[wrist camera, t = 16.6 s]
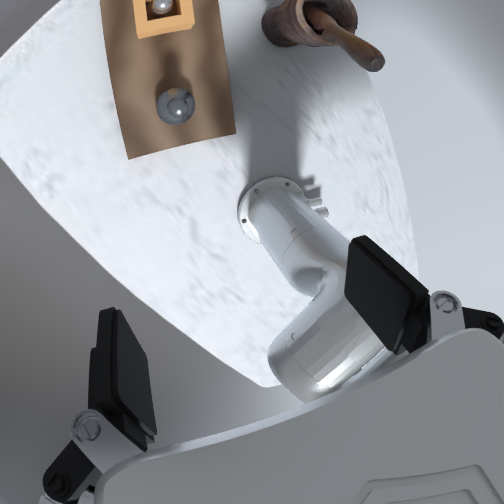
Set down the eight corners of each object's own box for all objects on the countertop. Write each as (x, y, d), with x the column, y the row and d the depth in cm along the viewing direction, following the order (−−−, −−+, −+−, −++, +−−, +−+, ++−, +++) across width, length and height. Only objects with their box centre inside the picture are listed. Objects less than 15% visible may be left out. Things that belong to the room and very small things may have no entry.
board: (211, -23, 28) (214, -27, 26) (232, 131, 43) (236, 133, 41) (101, -2, 25) (99, -6, 23) (129, 156, 40) (128, 159, 38)
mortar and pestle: (327, 50, 39) (417, 48, 23) (290, 76, 40) (373, 81, 24) (288, -4, 32) (368, -38, 16) (246, 21, 34) (312, -14, 18)
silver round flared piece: (178, -4, 27) (183, -21, 22) (182, 27, 30) (188, 15, 24) (140, 3, 26) (138, -13, 21) (143, 34, 29) (142, 24, 23)
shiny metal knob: (190, 84, 35) (197, 83, 30) (196, 118, 38) (204, 124, 33) (153, 92, 34) (153, 92, 29) (159, 127, 37) (161, 134, 32)
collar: (185, -14, 25) (189, -23, 22) (190, 28, 29) (194, 22, 26) (133, -4, 24) (131, -13, 21) (138, 39, 28) (136, 33, 25)
